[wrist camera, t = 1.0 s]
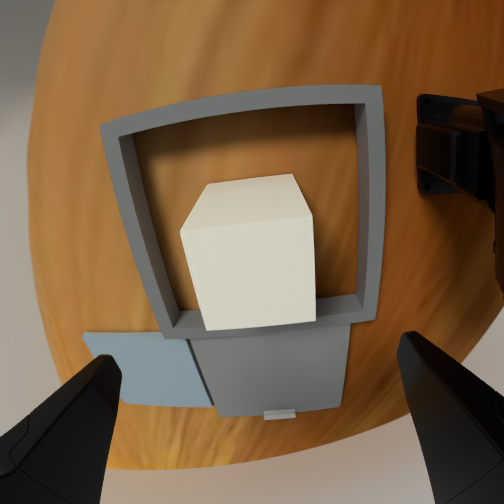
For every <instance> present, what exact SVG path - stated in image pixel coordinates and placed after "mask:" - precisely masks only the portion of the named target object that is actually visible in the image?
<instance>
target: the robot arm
mask: <svg viewBox="0 0 504 504" xmlns="http://www.w3.org/2000/svg"><path fill="white" fill-rule="evenodd" d="M476 96H477V100H478V101H474V100H468V99H462V98H455V97H448V96H440V95H431V94H420V95H419V96H418V97H417V114H418V125H417V126H416V136H417V165H418V189H419V191H421V192H422V193H424V194H443V193H462V194H464V195H466V196H468V197H469V198H471V199H472V200H474V201H476V202H477V203H479V204H481V205H482V206H484V207H485V208H487V209H488V210H490V211H492V212H493V213H495V241H494V243H493V252H494V254H495V276H496V280H497V282H498V284H499V286H500V288H501V290H502V292H503V293H504V89H498V90H493V91H488V92H483V93H478V94H476ZM424 98H425V99H426V101H427V103H426V105H424V103H423V99H424ZM426 183H427V187H426V188H425V189H424V185H425V184H426ZM503 299H504V295H503ZM397 360H398V364H399V368H400V372H401V377H402V381H403V386H404V391H405V395H406V400H407V403H408V406H409V409H410V413H411V416H412V419H413V422H414V425H415V428H416V432H417V435H418V438H419V441H420V445H421V449H422V452H423V456H424V459H425V463H426V467H427V471H428V475H429V479H430V483H431V487H432V491H433V496H434V500H435V504H504V397H503V396H502V395H501V394H499V393H498V392H497V391H495V390H494V389H493V388H491V387H490V386H489V385H488V384H486V383H485V382H484V381H482V380H481V379H480V378H478V377H477V376H476V375H475V374H473V373H472V372H471V371H469V370H468V369H467V368H465V367H464V366H463V365H461V364H460V363H459V362H457V361H456V360H455V359H453V358H452V357H451V356H449V355H448V354H446V353H445V352H444V351H442V350H441V349H440V348H438V347H437V346H436V345H434V344H433V343H431V342H430V341H429V340H427V339H426V338H425V337H423V336H422V335H420V334H419V333H418V332H416V331H410V332H405V333H403V334H402V335H401V339H400V343H399V346H398V350H397ZM121 383H122V372H121V369H120V368H119V366H118V364H117V363H116V361H115V359H114V357H113V356H112V355H109V354H100V355H99V356H97V357H96V358H95V359H94V360H92V361H91V362H90V363H89V364H88V365H86V366H85V367H84V368H83V369H82V370H80V371H79V372H78V373H77V374H76V375H74V376H73V377H72V378H71V379H70V380H69V381H67V382H66V383H65V384H64V385H63V386H61V387H60V388H59V389H58V390H57V391H55V392H54V393H53V394H52V395H51V396H50V397H48V398H47V399H46V400H45V401H44V402H43V403H41V404H40V405H39V406H38V407H37V408H35V409H34V410H33V411H32V412H31V413H30V415H27V416H26V417H25V418H24V419H23V420H21V422H19V423H18V424H17V425H15V426H14V427H13V428H12V429H11V430H9V431H8V432H7V433H5V434H4V435H2V436H1V437H0V504H100V498H101V491H102V486H103V480H104V474H105V469H106V464H107V459H108V454H109V449H110V444H111V440H112V435H113V431H114V426H115V422H116V417H117V411H118V404H119V397H120V390H121Z"/></svg>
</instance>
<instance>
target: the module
mask: <svg viewBox="0 0 504 504" xmlns="http://www.w3.org/2000/svg"><path fill="white" fill-rule="evenodd" d="M180 235H181V239H182V243H183V247H184V251H185V255H186V259H187V262H188V266H189V270H190V274H191V278H192V281H193V285H194V289H195V292H196V296H197V299H198V303H199V307H200V310H201V314H202V317H203V320H204V324H205V327H206V331H210V330H226V329H240V328H252V327H263V326H274V325H283V324H293V323H302V322H310V321H316V300H315V261H314V236H313V217H312V214H311V212H310V210H309V208H308V206H307V203H306V201H305V199H304V197H303V195H302V193H301V191H300V189H299V187H298V185H297V183H296V181H295V178H294V176H293V174H285V175H276V176H267V177H258V178H250V179H242V180H234V181H227V182H219V183H212V184H207V186H206V188H205V189H204V191H203V193H202V194H201V196H200V198H199V199H198V201H197V203H196V204H195V206H194V208H193V209H192V211H191V213H190V215H189V216H188V218H187V220H186V221H185V223H184V225H183V227H182V228H181V230H180Z"/></svg>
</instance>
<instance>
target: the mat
mask: <svg viewBox="0 0 504 504" xmlns="http://www.w3.org/2000/svg"><path fill="white" fill-rule="evenodd" d="M82 337H83V339H84V341H85V343H86V344H87V346H88V348H89V350H90V351H91V353H92V355H93V356H94V358H96V357H97V356H99V355H100V354H109V355H112V356H113V357H114V359H115V361H116V363H117V364H118V366H119V368H120V369H121V372H122V383H121V390H120V398H121V399H122V400H123V402H124V403H130V404H141V405H155V406H174V407H213V401H212V398H211V396H210V394H209V391H208V389H207V386H206V384H205V381H204V379H203V376H202V373H201V371H200V368H199V366H198V363H197V360H196V358H195V355H194V352H193V350H192V347H191V344H190V341H189V339H164V337H163V335H162V333H161V332H84V334H83V336H82Z"/></svg>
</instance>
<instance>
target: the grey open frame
mask: <svg viewBox="0 0 504 504" xmlns="http://www.w3.org/2000/svg"><path fill="white" fill-rule="evenodd" d="M342 103H354V110H355V123H356V137H357V156H358V189H359V227H358V261H357V280H356V294H349V295H341V296H334V297H326V298H318V299H315V300H316V321H310V322H302V323H293V324H283V325H274V326H263V327H252V328H240V329H226V330H210V331H206V327H205V324H204V320H203V317H202V314H201V310H188V311H179V310H178V307H177V303H176V300H175V297H174V294H173V291H172V288H171V285H170V282H169V278H168V275H167V272H166V268H165V265H164V262H163V258H162V255H161V251H160V248H159V244H158V241H157V237H156V234H155V230H154V226H153V222H152V219H151V215H150V211H149V207H148V203H147V199H146V195H145V191H144V186H143V182H142V178H141V173H140V169H139V164H138V160H137V155H136V150H135V145H134V140H133V135H132V133H135V132H139V131H142V130H146V129H151V128H155V127H159V126H163V125H168V124H173V123H177V122H182V121H187V120H192V119H198V118H203V117H209V116H215V115H221V114H227V113H234V112H241V111H249V110H257V109H266V108H276V107H286V106H299V105H315V104H342ZM100 130H101V135H102V140H103V145H104V149H105V154H106V158H107V163H108V167H109V171H110V176H111V180H112V184H113V188H114V192H115V195H116V199H117V203H118V206H119V210H120V214H121V217H122V221H123V224H124V227H125V231H126V234H127V237H128V241H129V244H130V247H131V250H132V253H133V256H134V259H135V262H136V265H137V268H138V271H139V274H140V277H141V280H142V283H143V286H144V288H145V291H146V294H147V297H148V299H149V302H150V305H151V307H152V310H153V312H154V315H155V318H156V320H157V323H158V325H159V328H160V330H161V333H162V335H163V337H164V339H190V342H191V345H192V347H193V350H194V353H195V356H196V358H197V361H198V364H199V366H200V369H201V371H202V374H203V377H204V379H205V382H206V384H207V387H208V389H209V392H210V394H211V397H212V399H213V402H214V404H215V406H216V409H217V411H218V414H219V416H220V417H237V416H260V415H264V419H265V420H273V419H285V418H296V416H295V413H296V412H305V411H314V410H321V409H328V408H335V407H340V405H341V398H342V392H343V385H344V378H345V371H346V363H347V355H348V346H349V336H350V326H351V323H357V322H363V321H369V320H375V317H376V310H377V302H378V294H379V286H380V277H381V266H382V255H383V242H384V225H385V197H386V155H385V128H384V112H383V99H382V88H381V85H312V86H295V87H282V88H271V89H261V90H253V91H245V92H238V93H231V94H224V95H218V96H212V97H206V98H201V99H196V100H191V101H186V102H181V103H176V104H172V105H168V106H163V107H159V108H155V109H151V110H147V111H143V112H140V113H136V114H132V115H129V116H125V117H122V118H119V119H115V120H112V121H109V122H106V123H103V124H100Z"/></svg>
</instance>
